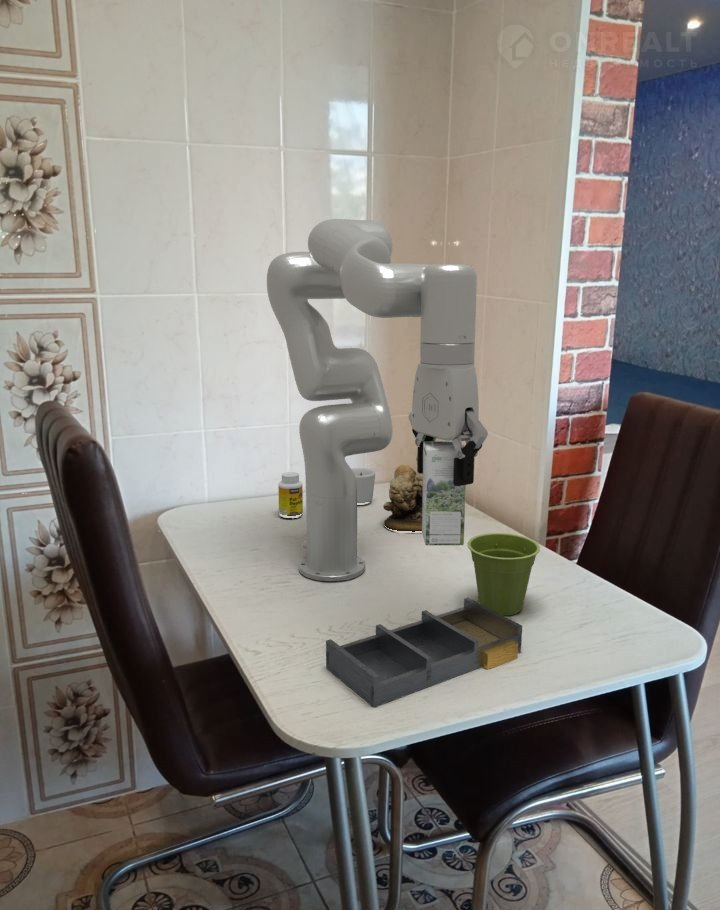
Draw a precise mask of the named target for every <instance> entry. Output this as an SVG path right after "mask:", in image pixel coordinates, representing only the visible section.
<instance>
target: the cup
mask: <svg viewBox="0 0 720 910" xmlns="http://www.w3.org/2000/svg"><path fill="white" fill-rule="evenodd" d="M351 469H352V471H353V472H354V474H355V476H356V480H357V503H365V502H370V501H371V500H372V501H373V496H374V489H375V481H376V471H374V469H370V468H367V467H366V468H364V467H354V468H352V467H351ZM372 501H371V502H372Z"/></svg>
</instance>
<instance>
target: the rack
mask: <svg viewBox="0 0 720 910" xmlns="http://www.w3.org/2000/svg"><path fill="white" fill-rule="evenodd" d="M522 636H523V625H522V624H521V623H518V622H516V621H514V620H513V619H510V618H508V617H507V616H506V615H501V614H499V613H497V612H495V611H493V610H491V609H489V608H487V607H485V606H484V605H482V604H480V603H479V601H476V600H474V599H472V598H470V597H464V598H463V607H461V608H460V607H459V608H457V609H456V608H455V609H454V610H451V611H450V610H449V611H447V612H444V613H441V614H438V615H435V614H433V613H432V612H429V611H428V610H426V609H425V610H422V611H421V620H419V621H415V622H411V623H409V624H405V625H403V626H399V627H396V628H393V629H389V628H388V627H385V626H384V625H383V624H376V625H375V634H373V635H370V636H367V637H364V638H361V639H358V640H354V641H351V642H347V643H345V644H342V645H339V644H338V643H336V642H335V641H334V640H333V639H331V638H329V639H326V640H325V664H326V665H325V666H326V667H325V668H326V669H327V670H328V671H329V672H330V673H332V674H333V676H335V677H336V678H338V679H339V680H340V681H341V682H343V683H344V684H345V685H346V686H347V687H348V688H350V689H351V690H352V691H353V692H354V693H356V694H357V695H358V696H359V697H360V698H361V699H363V700H364V701H365V702H367V703H368V704H369V705H370V706H372V707H373V708H376V707H380V706H382V705H385V704H387V703H390V702H392V701H395V700H398V699H400V698H403V697H406V696H408V695H412V694H414V693H416V692H419V691H422V690H424V689H427V688H429V687H432V686H435V685H438V684H440V683H442V682H445V681H447V680H451V679H454V678H456V677H458V676H459V677H460V676H461V675H464V674H467V673H470V672H471V671H475V670H477V669H480V668H483V669H486V670H490V669H492V668H496V667H498V666H501V665H503V664H506V663H508V662H511V661H513V660H516V659H518V658H519V656H518V654H520V653H522V640H523V639H522Z"/></svg>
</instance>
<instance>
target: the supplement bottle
mask: <svg viewBox="0 0 720 910" xmlns="http://www.w3.org/2000/svg"><path fill="white" fill-rule="evenodd" d="M299 474H300V473H298V472H296V471H287V472H283V473H281V481H279V482H278V486H277V487H278V488H277V489H278V514H279V513H280V514H282V515H287V516H296V515H300V514H302V513H304V509H303V508H304V506H303V504H304V503H303V502H304V501H303V500H304V499H303V482H302V481H300V475H299ZM302 515H303V514H302Z"/></svg>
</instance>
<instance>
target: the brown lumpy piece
mask: <svg viewBox="0 0 720 910" xmlns="http://www.w3.org/2000/svg"><path fill="white" fill-rule="evenodd" d="M415 461H416V462H417V456H416V458H415ZM393 475H394V477H393V478H392V479H391V480H390V482H389V489H388V498H389V500H390V501H385V503H384V504H383V510H385V511H386V512H391V514H390V515H389V516H388V517H387V518H386V519H385V520H384V522H383V526H384V525H385V526H386V527H387V528H389V529H392V530H397V531H412V532H415V531H422V493H423V473H422V474H420V473H418V472H417V471H415V469H414V468H412V467H411V466H410V465H407V464H402V465H399V466H397V467H396V468H395V470H394V474H393Z"/></svg>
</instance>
